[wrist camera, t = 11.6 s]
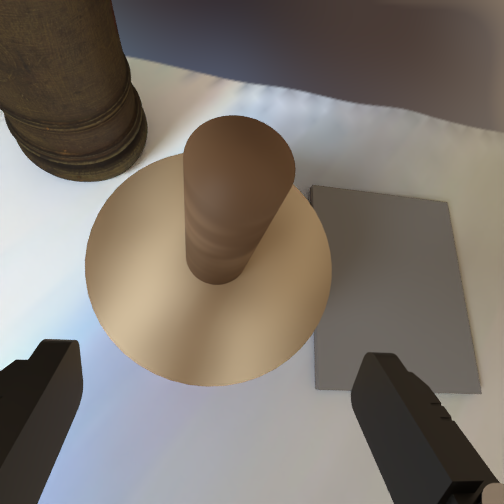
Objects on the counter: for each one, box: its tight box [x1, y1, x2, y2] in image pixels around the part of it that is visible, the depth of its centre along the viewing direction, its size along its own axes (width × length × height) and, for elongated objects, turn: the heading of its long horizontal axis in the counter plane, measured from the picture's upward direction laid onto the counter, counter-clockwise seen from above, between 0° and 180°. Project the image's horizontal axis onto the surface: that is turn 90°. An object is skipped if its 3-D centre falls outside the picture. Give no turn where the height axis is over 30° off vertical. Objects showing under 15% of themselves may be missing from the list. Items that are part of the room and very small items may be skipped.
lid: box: [85, 115, 332, 386], centre depth 13 cm, size 12×12×9 cm
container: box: [0, 0, 147, 182], centre depth 16 cm, size 9×9×18 cm
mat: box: [310, 185, 482, 394], centre depth 25 cm, size 12×15×1 cm
